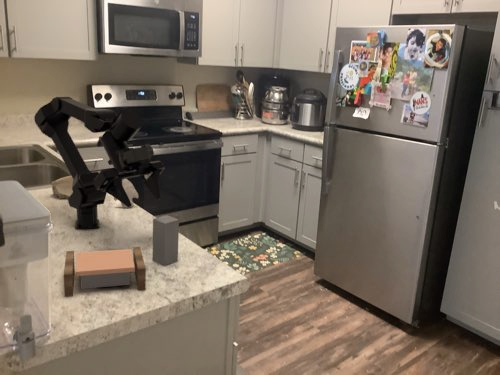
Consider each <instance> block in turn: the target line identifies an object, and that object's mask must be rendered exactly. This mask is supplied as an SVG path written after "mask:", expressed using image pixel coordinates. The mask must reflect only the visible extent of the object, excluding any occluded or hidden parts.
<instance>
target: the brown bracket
mask: <svg viewBox="0 0 500 375" xmlns="http://www.w3.org/2000/svg"><path fill="white" fill-rule="evenodd" d="M132 251H133V252H132V256H133V261H134V266H135V272H134V276H135V281H136V282H135V283H136V287H137V290H138V291H144V290H146V289H147V288H146V286H147V284H146V283H147V282H146V276H147V275H146V272H147V270H146V265H145V261H144V256H143V253H142V249H141V246H134V247H133V248H132ZM75 269H76V264H75V250H69V251H68V250H67V251H66V252H65V261H64V269H63V289H64V291H63V292H64V293H63V294H64V298H68V297H73V296H74V285H75Z"/></svg>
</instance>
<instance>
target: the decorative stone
mask: <svg viewBox="0 0 500 375" xmlns="http://www.w3.org/2000/svg"><path fill="white" fill-rule="evenodd" d="M72 184H73V178H72V176H71V175H68V176H64V177H60V178H57V179H56V180H53V181H51V190H52V193H53V195H55V194H56V195H55V196H58V197H59V199H60V200H61V199H66V200H68V198H69V197H70V195H71V194H72V193H73V190H72Z"/></svg>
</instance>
